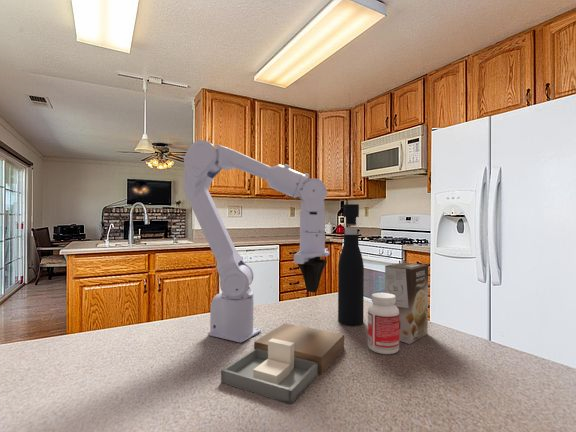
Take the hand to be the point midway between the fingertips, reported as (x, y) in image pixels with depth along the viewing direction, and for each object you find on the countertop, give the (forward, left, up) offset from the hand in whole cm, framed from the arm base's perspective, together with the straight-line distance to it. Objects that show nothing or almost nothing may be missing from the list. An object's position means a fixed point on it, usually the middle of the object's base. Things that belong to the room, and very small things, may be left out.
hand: (312, 291), depth 75 cm
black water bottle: (+5, +13, -10) cm, 17 cm away
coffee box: (+19, +10, -10) cm, 24 cm away
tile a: (+2, -17, -7) cm, 19 cm away
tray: (+2, -21, -10) cm, 24 cm away
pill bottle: (+16, 0, -10) cm, 19 cm away
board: (+2, -10, -10) cm, 14 cm away
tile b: (+2, -21, -8) cm, 23 cm away
